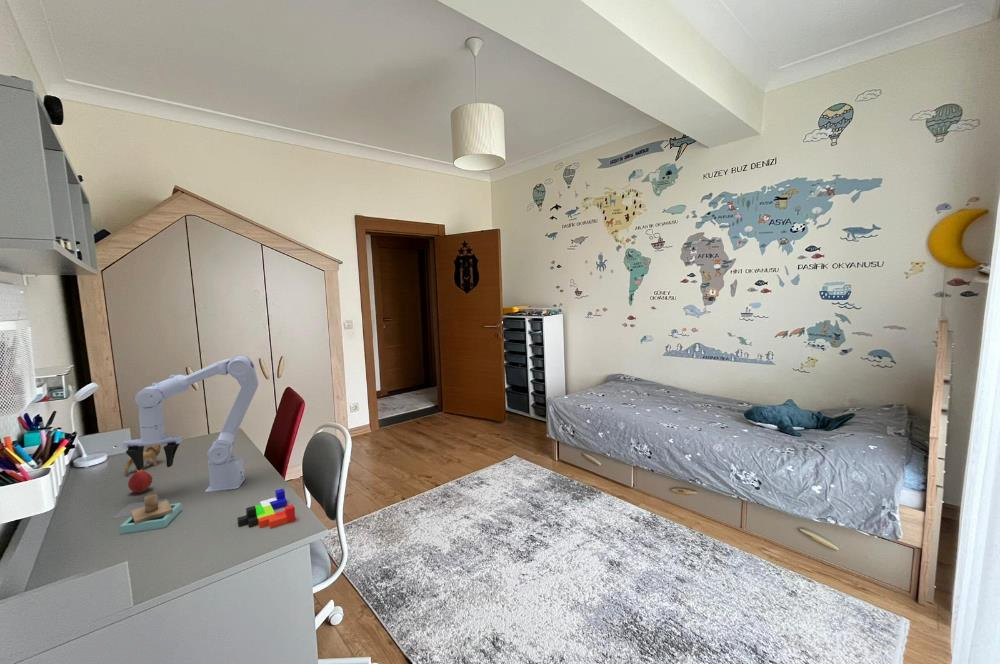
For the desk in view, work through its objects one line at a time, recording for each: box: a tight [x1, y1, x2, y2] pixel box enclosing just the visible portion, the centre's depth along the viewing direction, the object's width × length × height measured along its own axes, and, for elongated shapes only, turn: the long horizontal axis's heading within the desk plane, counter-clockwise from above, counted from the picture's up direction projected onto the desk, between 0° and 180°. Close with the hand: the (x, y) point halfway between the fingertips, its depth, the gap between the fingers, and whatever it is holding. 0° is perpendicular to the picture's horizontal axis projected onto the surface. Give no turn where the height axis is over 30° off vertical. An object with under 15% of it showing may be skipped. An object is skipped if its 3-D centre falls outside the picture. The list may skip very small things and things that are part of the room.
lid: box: [131, 493, 173, 524], centre depth 114 cm, size 8×8×5 cm
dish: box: [119, 502, 183, 535], centre depth 114 cm, size 10×10×2 cm
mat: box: [112, 498, 169, 519], centre depth 122 cm, size 10×9×1 cm
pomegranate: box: [127, 468, 153, 494], centre depth 132 cm, size 6×6×8 cm
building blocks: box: [237, 488, 296, 529], centre depth 116 cm, size 15×13×4 cm
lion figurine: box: [124, 444, 162, 477], centre depth 152 cm, size 15×5×9 cm, turn 3°
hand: (155, 467), depth 128 cm, fingers open, 7 cm apart
